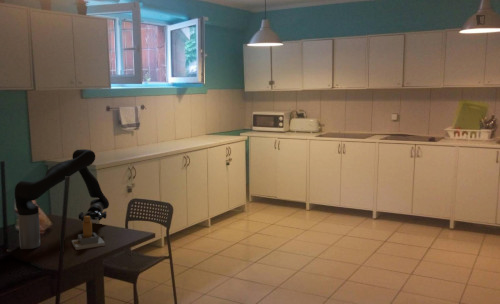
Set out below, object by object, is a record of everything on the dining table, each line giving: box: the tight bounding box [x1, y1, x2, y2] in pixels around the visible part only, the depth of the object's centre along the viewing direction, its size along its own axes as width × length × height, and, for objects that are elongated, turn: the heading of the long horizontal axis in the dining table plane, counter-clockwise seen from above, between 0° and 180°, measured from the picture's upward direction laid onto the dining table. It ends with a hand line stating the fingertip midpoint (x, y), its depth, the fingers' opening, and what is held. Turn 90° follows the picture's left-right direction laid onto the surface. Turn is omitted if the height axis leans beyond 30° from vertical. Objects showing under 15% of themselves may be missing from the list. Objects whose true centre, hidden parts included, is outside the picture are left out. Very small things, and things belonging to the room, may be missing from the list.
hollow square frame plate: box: [71, 232, 106, 251], centre depth 241 cm, size 14×12×4 cm
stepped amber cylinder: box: [82, 216, 93, 238], centre depth 240 cm, size 4×4×13 cm
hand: (90, 218), depth 250 cm, fingers open, 8 cm apart
